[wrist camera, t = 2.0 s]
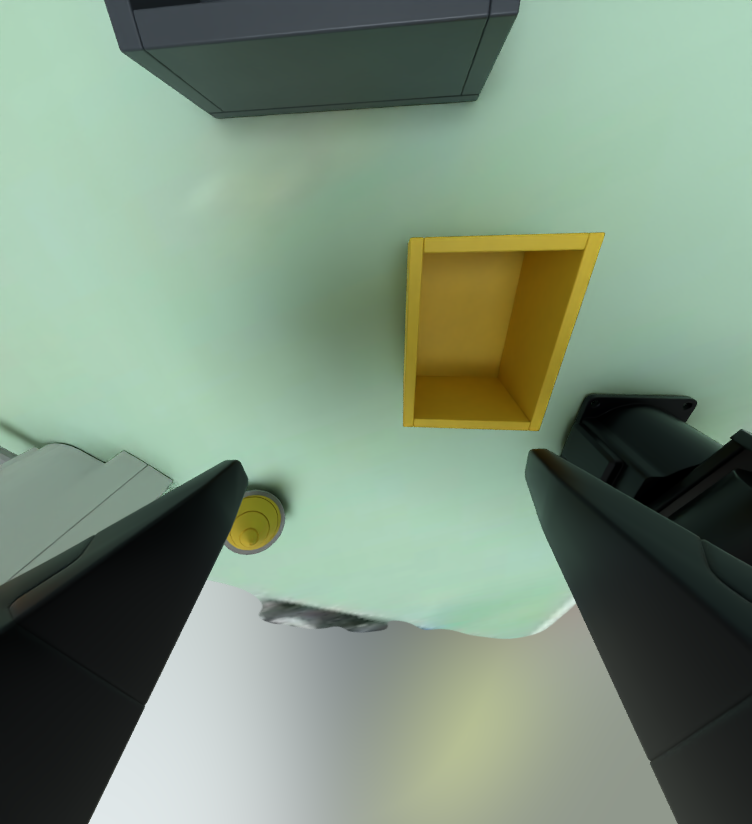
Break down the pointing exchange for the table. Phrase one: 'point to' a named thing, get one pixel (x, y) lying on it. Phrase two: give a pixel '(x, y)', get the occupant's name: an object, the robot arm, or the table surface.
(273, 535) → the yellow ridged cone
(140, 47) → the big bin
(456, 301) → the small bin
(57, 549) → the grey machine part
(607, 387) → the table surface
